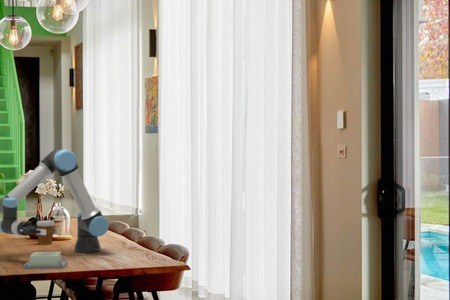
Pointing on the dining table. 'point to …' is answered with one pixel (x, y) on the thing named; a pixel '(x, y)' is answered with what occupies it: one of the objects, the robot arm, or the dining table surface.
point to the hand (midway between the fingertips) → (52, 231)
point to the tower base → (61, 265)
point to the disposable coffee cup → (49, 232)
